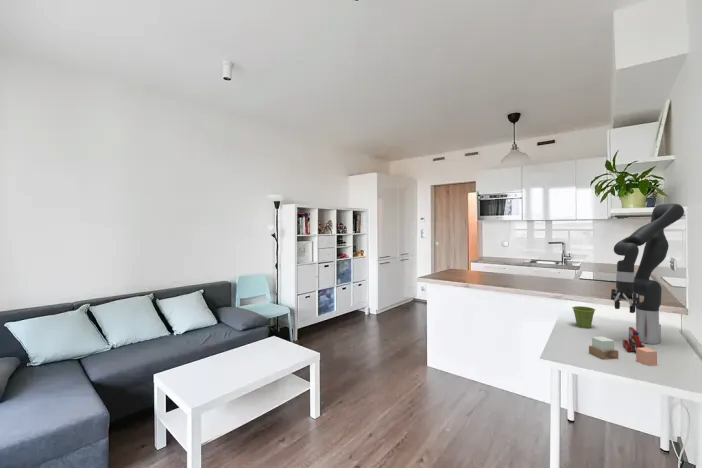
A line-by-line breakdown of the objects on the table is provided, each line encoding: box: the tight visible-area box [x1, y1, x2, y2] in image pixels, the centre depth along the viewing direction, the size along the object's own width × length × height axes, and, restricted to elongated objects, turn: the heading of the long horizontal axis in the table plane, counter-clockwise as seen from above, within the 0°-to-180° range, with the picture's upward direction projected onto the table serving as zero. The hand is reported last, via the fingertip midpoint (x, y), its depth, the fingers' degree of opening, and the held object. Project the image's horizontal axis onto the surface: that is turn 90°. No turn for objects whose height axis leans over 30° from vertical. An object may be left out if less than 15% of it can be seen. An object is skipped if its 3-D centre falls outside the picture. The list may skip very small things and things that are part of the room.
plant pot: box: [571, 305, 596, 329], centre depth 204 cm, size 12×12×11 cm
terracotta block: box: [635, 347, 658, 366], centre depth 150 cm, size 5×5×6 cm
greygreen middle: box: [591, 336, 615, 351], centre depth 159 cm, size 6×6×4 cm
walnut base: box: [588, 345, 619, 360], centre depth 159 cm, size 8×8×4 cm
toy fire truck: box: [622, 326, 645, 352], centre depth 165 cm, size 7×12×10 cm, turn 152°
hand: (624, 310), depth 174 cm, fingers open, 8 cm apart
